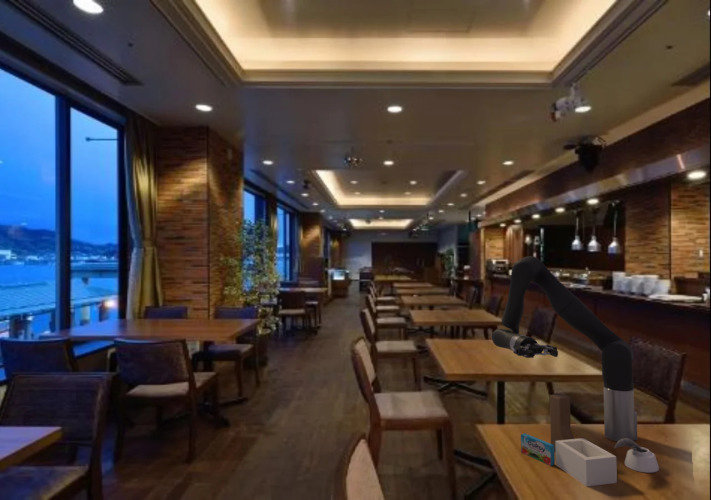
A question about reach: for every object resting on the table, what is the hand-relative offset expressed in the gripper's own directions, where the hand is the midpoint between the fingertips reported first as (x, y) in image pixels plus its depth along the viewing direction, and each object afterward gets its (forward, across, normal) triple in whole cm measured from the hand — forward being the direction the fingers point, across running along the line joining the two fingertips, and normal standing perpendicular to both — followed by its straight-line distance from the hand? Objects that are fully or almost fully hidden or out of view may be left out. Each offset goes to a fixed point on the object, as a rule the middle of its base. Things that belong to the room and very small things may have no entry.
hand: (544, 354), depth 172 cm
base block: (+25, -1, +30) cm, 39 cm away
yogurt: (+13, -10, +30) cm, 34 cm away
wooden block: (+11, +1, +30) cm, 32 cm away
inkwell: (+25, +14, +30) cm, 42 cm away
